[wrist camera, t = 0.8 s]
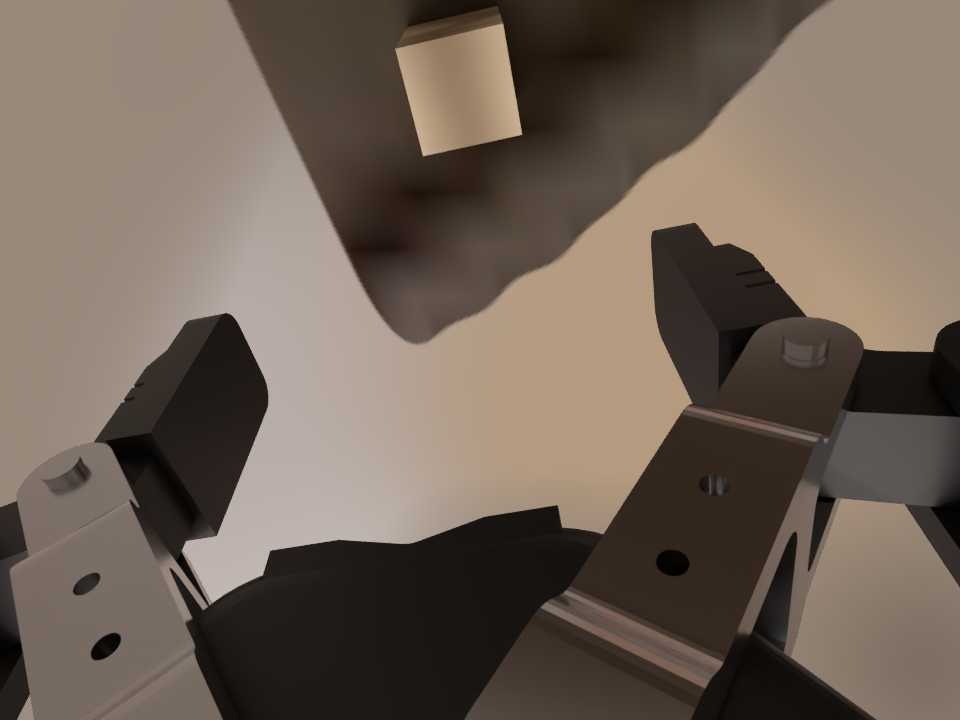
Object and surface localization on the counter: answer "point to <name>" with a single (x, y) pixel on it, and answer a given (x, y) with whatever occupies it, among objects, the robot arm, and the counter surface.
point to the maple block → (459, 81)
